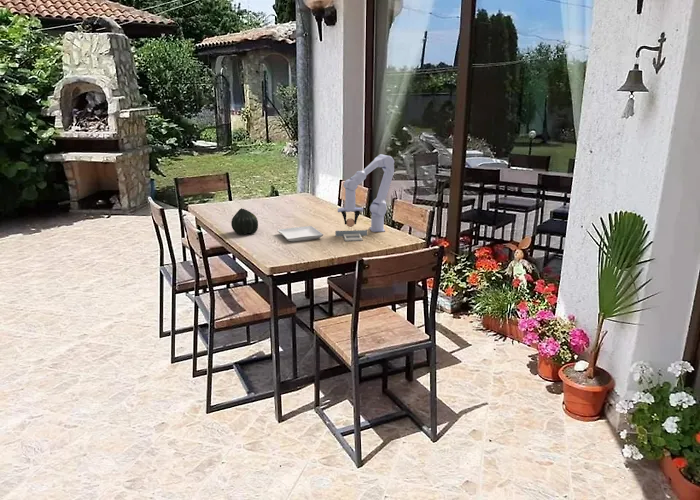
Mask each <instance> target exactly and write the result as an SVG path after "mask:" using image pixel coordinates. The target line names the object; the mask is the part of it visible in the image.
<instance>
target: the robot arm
mask: <svg viewBox="0 0 700 500" xmlns="http://www.w3.org/2000/svg"><path fill="white" fill-rule="evenodd" d="M395 162H396V161H395V159H394V158H393V157H392V156H391V155H387V154H383V153H380V154H378V155H377V156H376V157H374V159H373V160H372V161H371V162H370V163H369V164H368V165H366V167H365V168H364V169H363V170H357V171H356V172H355V173H354V175H353V176H350V178H349V179H345V181H344V183H343V188H344V189H345V193H344V194H345V195H344V196H345V200H344V201H345V205H344V206H345V207H339V208H337V213H341V215H342V218H343V221H344V225H345V226H347V225H346V221H347V213H353V212H354V213H353V214H354V219H353V220H354V221H355V224H354V225H357V221H358V218H359V215H360V214H361V213H362V212H364V207H356V190H357V189H358V186H359V185H360V184H361V183H362V182H364V181H365V180H366V179H367V176H368V175H369V174H370V173H371V172H373V171H374V170H375V169H377V168H381V169H382V171H383V176H382V178H381V181H380V186H379V188H378V191H377V195H376V198H375V199H373V200H372V202H371V204H370V206H369V211H370V214H371V217H370V219H371V221H370V226H369V229H370V231H371V232H373V233H374V232H377V233H379V232H386V229H385V222H384V221H385V216H386V214H387V202H386V201H387V196H388V193H389V190H390V186H391V184H392V180H393V178H394V173H395V166H394V165H395ZM360 212H361V213H360Z"/></svg>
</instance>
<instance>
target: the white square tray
mask: <svg viewBox="0 0 700 500" xmlns="http://www.w3.org/2000/svg"><path fill="white" fill-rule="evenodd" d="M342 238H343V240H344V242H362V241H364V240H363V237H362V236H361V235H360V234H344V236H342Z"/></svg>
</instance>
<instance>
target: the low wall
mask: <svg viewBox="0 0 700 500" xmlns="http://www.w3.org/2000/svg"><path fill="white" fill-rule="evenodd" d="M344 234H360V235H361V237H362V236H363V237H364V236H365V237H366V236H368V230H367V229H366V230H365V229H364V230H363V229H362V230H356V229H355V230H354V229H353V230H335V237H343V236H344Z"/></svg>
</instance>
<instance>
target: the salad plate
mask: <svg viewBox="0 0 700 500" xmlns="http://www.w3.org/2000/svg"><path fill="white" fill-rule="evenodd" d="M276 231H277V232H278V233H279V234H280V235H281V236H282V237H283V238H284V239H285V240H286V241H289V242H302V241H311V240H317V239H320V238H322V237H323V236H324V233H322V232H321V231H320V230H318V229H316V227H314V226H313V225H307V226H298V227H287V228H279V229H277V230H276Z"/></svg>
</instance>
